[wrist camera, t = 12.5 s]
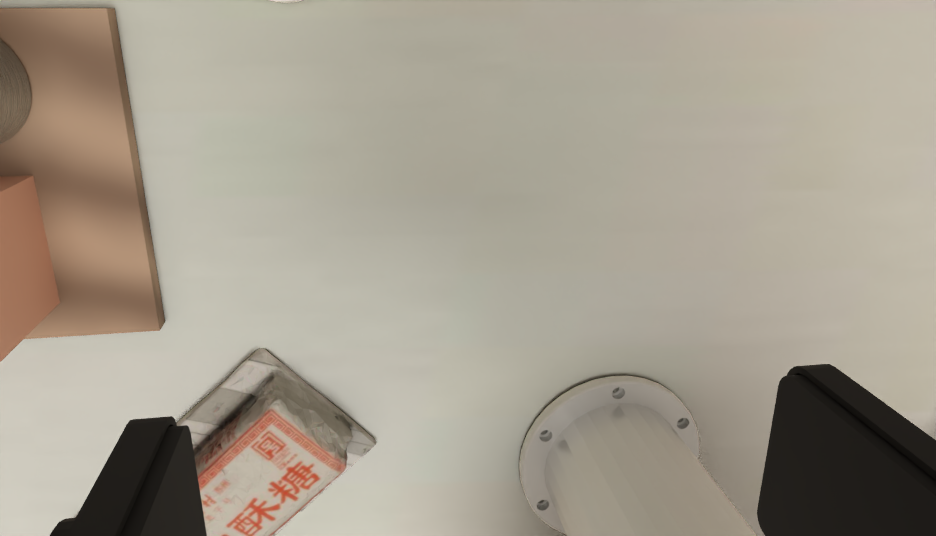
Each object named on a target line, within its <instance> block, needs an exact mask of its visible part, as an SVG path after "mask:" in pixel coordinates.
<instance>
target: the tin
mask: <svg viewBox="0 0 936 536" xmlns="http://www.w3.org/2000/svg"><path fill="white" fill-rule="evenodd" d="M30 106H31V89H30V84H29V80H28V77H27V74H26V72H25V69H24V67H23V66H22V64H21V62H20V60H19V59H18V58H17V56H16V55H15V53H14V52H13V51H12V50H11V49H10V48H9V47H8V46H7V45H6V44H5V43H4V42H3V41H2V40H1V39H0V144H1V143H3V142H5V141H7V140H9V139H10V138H11V137H13V136H14V135H15V134H16V133H17V132H18V131H19V130H20V129H21V128H22V126H23V125H24V123H25V121H26V119H27V117H28V114H29V111H30Z"/></svg>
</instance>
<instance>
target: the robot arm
mask: <svg viewBox="0 0 936 536" xmlns="http://www.w3.org/2000/svg"><path fill="white" fill-rule="evenodd" d="M699 442H700V440H699V435H698V430H697V426H696V424H695V422H694V419H693V417H692V415H691V413H690V412H689V411H688V409H687V408H686V407H685V405H684V404H683V403H682V402H681V401H680V400H679V399H678V398H677V397H676V396H675V395H674V394H673V393H672V392H671V391H670V390H668V389H667V388H665V387H664V386H662V385H660V384H659V383H656V382H653V381H651V380H648V379H645V378H640V377H633V376H609V377H604V378H599V379H595V380H591V381H589V382H586V383H583V384H581V385H578V386H576V387H574V388H572V389H571V390H569V391H567V392H566V393H564V394H562V395H561V396H559V397H558V398H557V399H556V400H554V401H553V402H552V403H551V404H550V405H548V406H547V407H546V408H545V409H544V411H543V412H542V413H541V414H540V415H539V416H538V418H537V419H536V420H535V421H534V423H533V425H532V426H531V428H530V430H529V432H528V433H527V435H526V438H525V441H524V443H523V446H522V449H521V454H520V461H519V472H520V481H521V484H522V487H523V491H524V494H525V496H526V498H527V500H528V503H529V505H530V507H531V508H532V510H533V511H534V512H535V513H536V515H537V516H538V517H539V518H540V519H541V520H542V521H543V522H545V523H546V524H547V525H548V526H550V527H551V528H553V529H555V530H557V531H559V532H561V533H563V534H566V535H567V536H757V535H756V533H755V532H754V531H753V530H752V528H751V527H750V526H749V524H748V523H747V522H746V521H745V519H744V518H743V517H742V516H741V514H740V513H739V512H738V510H737V509H736V508H735V507H734V505H733V504H732V503H731V501H730V500H729V499H728V498H727V496H726V495H725V494H724V492H723V491H722V490H721V489H720V487H719V486H718V485H717V483H716V482H715V481H714V480H713V478H712V477H711V476H710V475H709V473H708V472H707V471H706V469H705V468H704V467H703V466H702V464H701V463H700V462H699V460H698V458H699ZM757 515H758V521H759V525H760V527H761V529H762V531H763V533H764V534H765V536H936V440H935V439H933V438H932V437H930V436H929V435H928V434H926V433H925V432H924V431H922V430H921V429H919V428H918V427H917V426H915V425H914V424H913V423H911V422H910V421H908V420H907V419H906V418H904V417H903V416H902V415H900V414H899V413H897V412H896V411H895V410H893V409H892V408H891V407H889V406H888V405H886V404H885V403H884V402H882V401H881V400H880V399H878V398H877V397H875V396H874V395H873V394H871V393H870V392H869V391H867V390H866V389H864V388H863V387H862V386H860V385H859V384H858V383H856V382H855V381H853V380H852V379H851V378H849V377H848V376H847V375H845V374H844V373H842V372H841V371H840V370H838V369H837V368H836V367H834V366H832V365H830V364H821V365H809V366H796V367H793V368H792V369H791V370H790V371H789V372H788V374H787V376H785V377H783V378H782V379H781V380H780V383H779V386H778V392H777V398H776V403H775V409H774V415H773V421H772V427H771V433H770V439H769V444H768V450H767V456H766V462H765V468H764V474H763V480H762V486H761V491H760V497H759V503H758V510H757ZM50 536H207V533H206V527H205V521H204V514H203V508H202V501H201V495H200V489H199V482H198V476H197V470H196V463H195V457H194V450H193V444H192V438H191V432H190V429H189V427H188V426H187V425H184V426H177V424H176V421H175V419H174V418H173V417H159V418H147V419H134V420H130V421H129V422H128V424H127V425H126V427H125V429H124V431H123V433H122V435H121V436H120V438H119V440H118V442H117V444H116V446H115V447H114V449H113V451H112V453H111V455H110V457H109V458H108V460H107V462H106V464H105V466H104V467H103V469H102V471H101V473H100V475H99V477H98V478H97V480H96V482H95V484H94V486H93V488H92V489H91V491H90V493H89V495H88V497H87V499H86V500H85V502H84V504H83V506H82V508H81V510H80V511H79V513H78V515H77V517H76V518H69V519H64V520H62V521H61V522H59V523H58V524H57V526H56V527H55V528H54V530H53V531H52V533H51V534H50Z"/></svg>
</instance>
